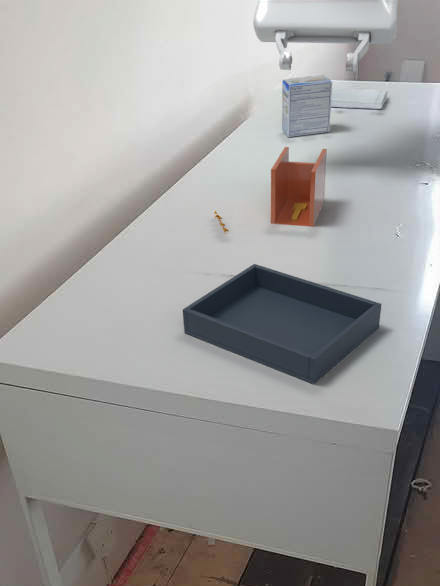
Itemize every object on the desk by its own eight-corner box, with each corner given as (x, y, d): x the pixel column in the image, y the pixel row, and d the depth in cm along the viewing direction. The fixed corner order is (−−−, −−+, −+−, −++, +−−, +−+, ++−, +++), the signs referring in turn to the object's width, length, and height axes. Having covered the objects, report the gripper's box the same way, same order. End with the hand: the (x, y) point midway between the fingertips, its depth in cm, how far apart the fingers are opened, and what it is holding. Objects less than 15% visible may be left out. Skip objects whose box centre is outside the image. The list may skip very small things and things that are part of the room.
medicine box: (322, 125, 133) (324, 74, 127) (330, 133, 130) (332, 80, 124) (281, 130, 132) (281, 78, 126) (288, 138, 129) (288, 85, 123)
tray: (379, 327, 79) (381, 303, 77) (313, 384, 72) (314, 359, 70) (254, 286, 88) (254, 263, 86) (184, 333, 80) (182, 309, 78)
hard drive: (318, 98, 141) (382, 100, 138) (326, 87, 147) (387, 88, 143) (317, 107, 142) (381, 110, 139) (326, 95, 148) (387, 98, 144)
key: (295, 205, 104) (295, 202, 104) (307, 206, 104) (307, 203, 104) (287, 219, 101) (287, 217, 100) (300, 220, 100) (300, 218, 100)
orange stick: (212, 216, 104) (211, 209, 104) (219, 215, 104) (218, 209, 104) (223, 238, 98) (222, 231, 98) (230, 238, 99) (230, 231, 98)
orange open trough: (283, 202, 107) (284, 146, 102) (323, 205, 106) (326, 148, 100) (270, 227, 100) (270, 169, 95) (313, 230, 99) (315, 171, 94)
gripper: (257, -43, 101) (241, 52, 100) (406, -44, 96) (390, 55, 96) (264, -11, 107) (249, 79, 106) (404, -11, 102) (389, 83, 102)
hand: (317, 68), depth 101 cm, fingers open, 8 cm apart
